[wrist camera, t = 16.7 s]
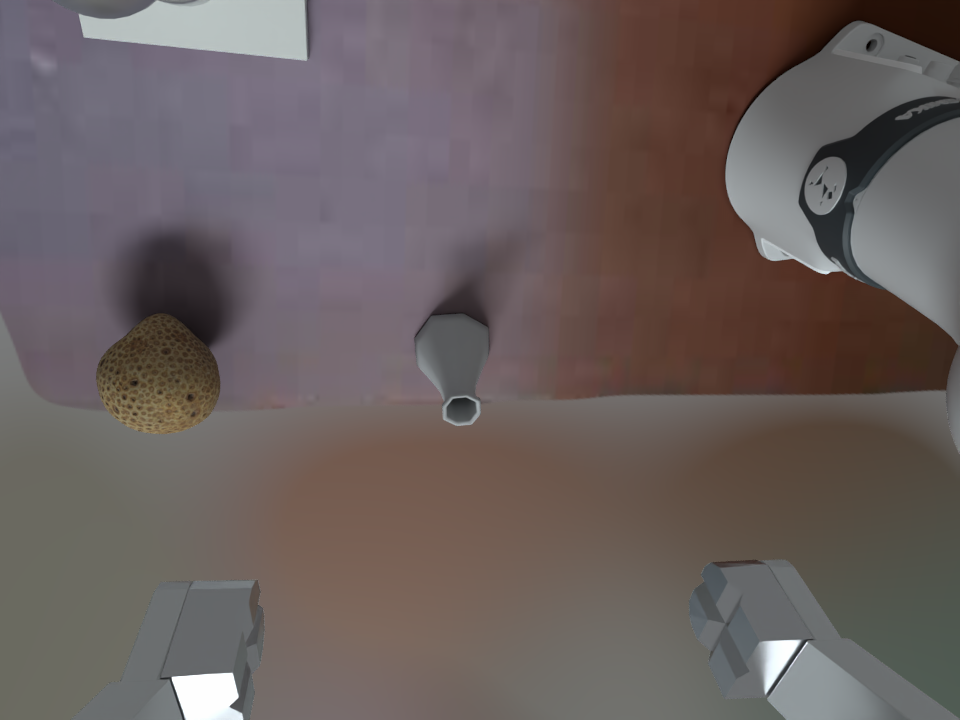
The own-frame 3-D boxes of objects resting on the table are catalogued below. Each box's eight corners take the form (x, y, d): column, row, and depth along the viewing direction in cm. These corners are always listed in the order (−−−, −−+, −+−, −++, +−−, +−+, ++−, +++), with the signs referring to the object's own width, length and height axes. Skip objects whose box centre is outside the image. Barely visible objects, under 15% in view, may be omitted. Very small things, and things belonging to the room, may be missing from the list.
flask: (423, 303, 53) (429, 365, 45) (500, 319, 55) (518, 382, 47) (405, 369, 57) (406, 438, 49) (477, 382, 59) (491, 451, 50)
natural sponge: (173, 402, 56) (135, 477, 48) (99, 330, 51) (41, 400, 43) (255, 360, 54) (229, 430, 46) (186, 282, 50) (144, 345, 41)
